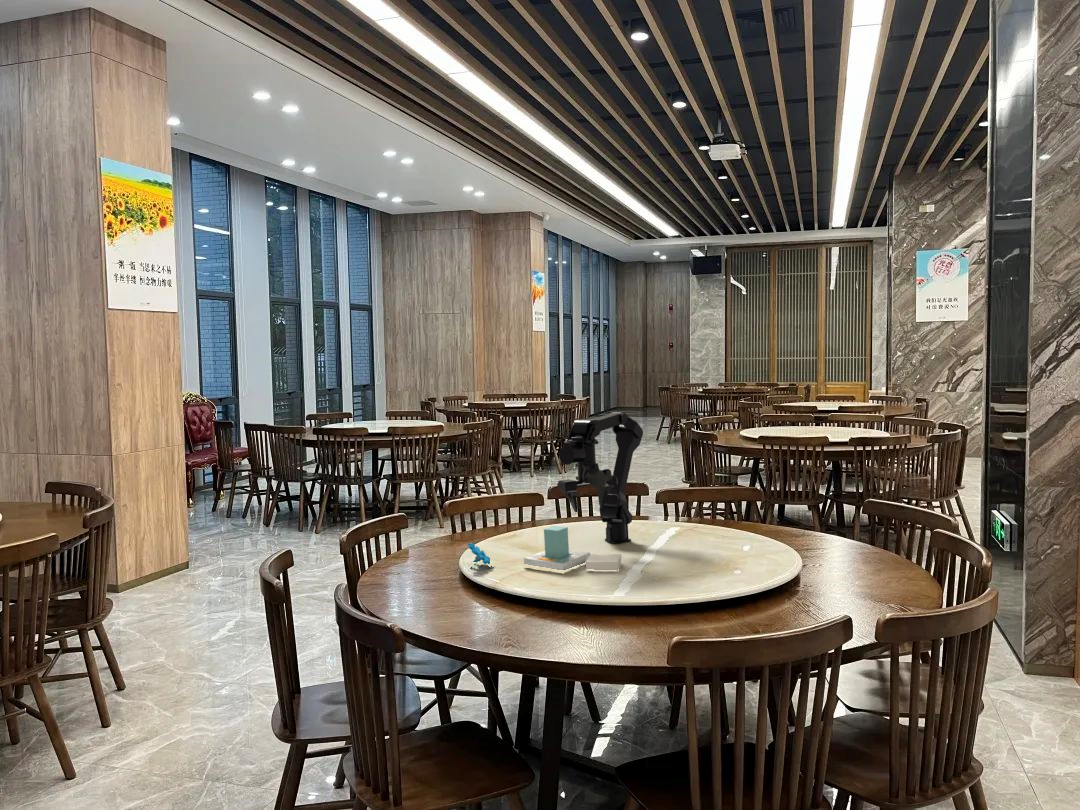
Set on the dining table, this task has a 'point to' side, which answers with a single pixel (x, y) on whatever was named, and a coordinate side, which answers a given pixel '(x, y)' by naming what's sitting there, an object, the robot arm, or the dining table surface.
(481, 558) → the blue splat disc
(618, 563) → the white flat square block
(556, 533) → the teal square peg
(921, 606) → the dining table surface
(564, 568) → the hole plate
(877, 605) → the dining table surface
